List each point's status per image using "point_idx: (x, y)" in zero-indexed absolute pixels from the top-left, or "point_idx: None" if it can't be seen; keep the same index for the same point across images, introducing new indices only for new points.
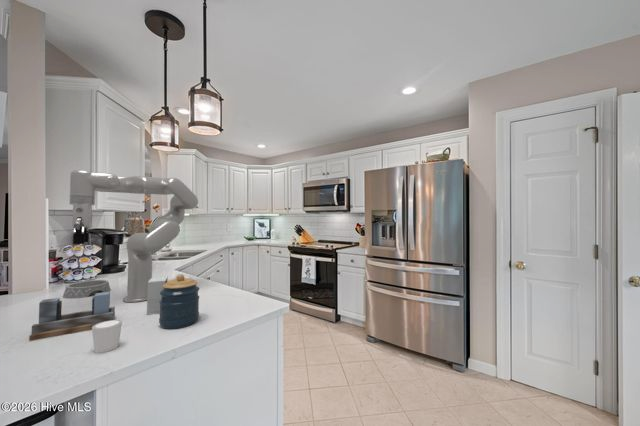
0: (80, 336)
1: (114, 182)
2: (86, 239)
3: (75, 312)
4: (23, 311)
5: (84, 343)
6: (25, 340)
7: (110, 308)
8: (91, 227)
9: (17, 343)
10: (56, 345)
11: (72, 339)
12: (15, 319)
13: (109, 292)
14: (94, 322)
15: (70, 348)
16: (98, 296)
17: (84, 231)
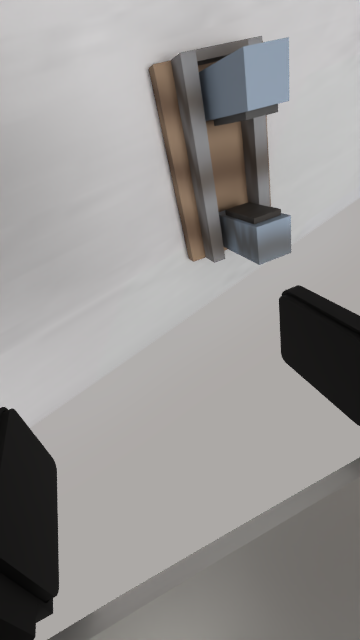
0: (292, 120)
1: None
2: (13, 442)
3: (202, 186)
4: (24, 397)
5: (339, 89)
6: None
7: (197, 66)
8: (128, 620)
9: None
10: (316, 155)
11: (301, 133)
12: (98, 362)
13: (258, 44)
14: None
15: (348, 113)
16: (286, 85)
17: (6, 620)
